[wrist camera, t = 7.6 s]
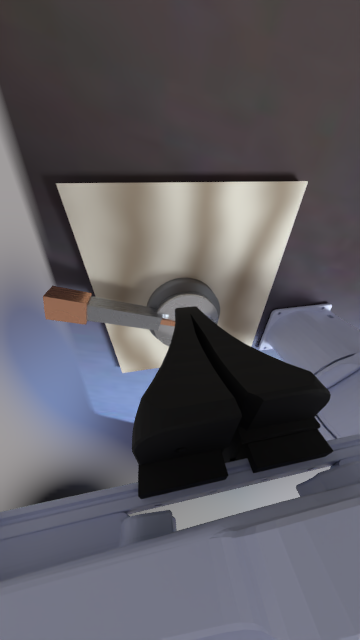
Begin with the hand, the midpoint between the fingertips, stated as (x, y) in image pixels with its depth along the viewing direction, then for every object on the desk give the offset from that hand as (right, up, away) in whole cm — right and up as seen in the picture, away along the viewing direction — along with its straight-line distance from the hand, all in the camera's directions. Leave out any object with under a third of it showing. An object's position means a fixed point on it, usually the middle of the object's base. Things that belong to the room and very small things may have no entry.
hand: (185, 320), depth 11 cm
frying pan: (-4, +1, +7) cm, 8 cm away
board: (+1, +3, +10) cm, 10 cm away
